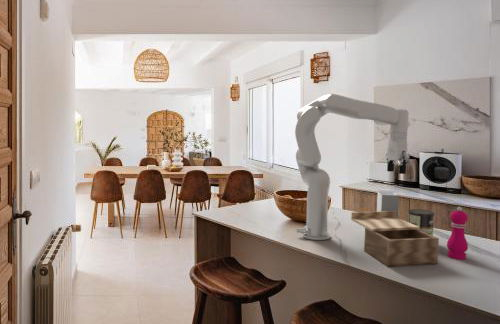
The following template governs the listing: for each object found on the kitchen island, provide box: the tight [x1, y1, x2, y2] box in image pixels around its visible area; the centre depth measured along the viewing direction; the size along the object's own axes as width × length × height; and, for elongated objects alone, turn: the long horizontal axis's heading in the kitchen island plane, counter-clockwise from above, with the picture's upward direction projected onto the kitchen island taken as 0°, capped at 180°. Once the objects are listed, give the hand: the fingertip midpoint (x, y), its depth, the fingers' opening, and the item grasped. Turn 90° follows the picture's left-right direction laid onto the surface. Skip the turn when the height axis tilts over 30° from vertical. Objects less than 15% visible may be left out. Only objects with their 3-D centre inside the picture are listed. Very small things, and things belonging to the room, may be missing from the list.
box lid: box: [350, 210, 419, 231], centre depth 158 cm, size 20×18×4 cm
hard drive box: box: [376, 189, 400, 218], centre depth 180 cm, size 16×8×20 cm, turn 168°
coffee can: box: [408, 208, 435, 236], centre depth 166 cm, size 10×10×14 cm
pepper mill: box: [446, 206, 469, 260], centre depth 147 cm, size 7×7×20 cm
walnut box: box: [363, 227, 440, 268], centre depth 147 cm, size 20×18×10 cm
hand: (396, 172), depth 177 cm, fingers open, 9 cm apart
